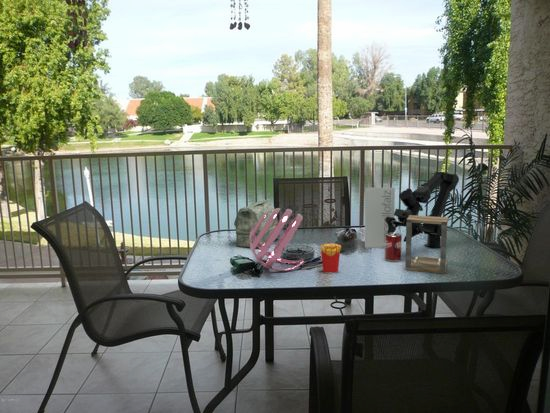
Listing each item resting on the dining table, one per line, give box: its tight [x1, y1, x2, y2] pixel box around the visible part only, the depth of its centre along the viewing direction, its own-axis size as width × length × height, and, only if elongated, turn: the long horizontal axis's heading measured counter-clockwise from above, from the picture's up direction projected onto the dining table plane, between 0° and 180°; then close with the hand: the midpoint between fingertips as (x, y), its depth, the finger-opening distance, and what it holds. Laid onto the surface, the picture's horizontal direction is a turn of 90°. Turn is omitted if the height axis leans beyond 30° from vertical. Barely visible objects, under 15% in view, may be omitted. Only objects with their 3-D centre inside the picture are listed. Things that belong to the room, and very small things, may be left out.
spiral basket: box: [249, 207, 305, 272], centre depth 201 cm, size 28×28×27 cm
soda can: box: [384, 232, 403, 263], centre depth 208 cm, size 7×7×12 cm
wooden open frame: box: [404, 215, 449, 275], centre depth 196 cm, size 16×16×22 cm
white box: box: [364, 187, 396, 249], centre depth 229 cm, size 14×6×30 cm, turn 76°
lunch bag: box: [233, 199, 280, 249], centre depth 245 cm, size 26×18×22 cm
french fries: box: [320, 243, 342, 274], centre depth 195 cm, size 8×4×12 cm, turn 85°
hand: (395, 239), depth 209 cm, fingers open, 9 cm apart
